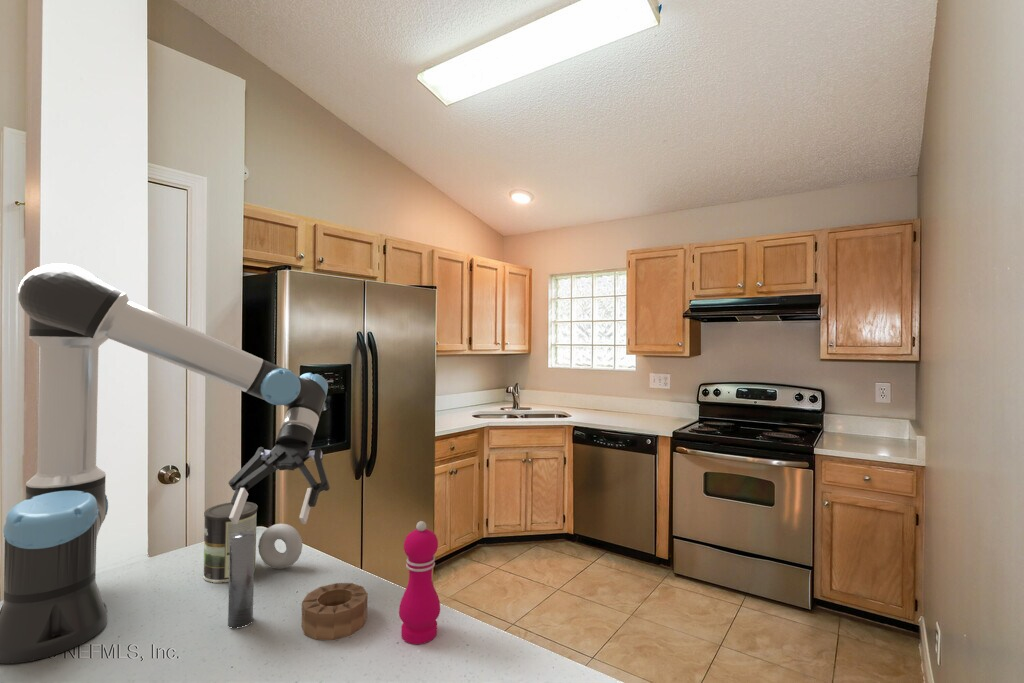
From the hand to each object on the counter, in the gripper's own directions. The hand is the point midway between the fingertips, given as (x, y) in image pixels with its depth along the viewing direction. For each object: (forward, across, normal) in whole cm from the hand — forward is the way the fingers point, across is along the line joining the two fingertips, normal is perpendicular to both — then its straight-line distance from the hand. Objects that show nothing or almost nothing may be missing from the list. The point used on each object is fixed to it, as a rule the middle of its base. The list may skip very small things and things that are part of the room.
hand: (267, 521), depth 100 cm
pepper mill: (+20, -32, -2) cm, 38 cm away
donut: (+2, +3, -20) cm, 21 cm away
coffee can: (+3, +13, -19) cm, 23 cm away
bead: (+17, -16, -4) cm, 24 cm away
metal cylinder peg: (+17, +1, -4) cm, 18 cm away
